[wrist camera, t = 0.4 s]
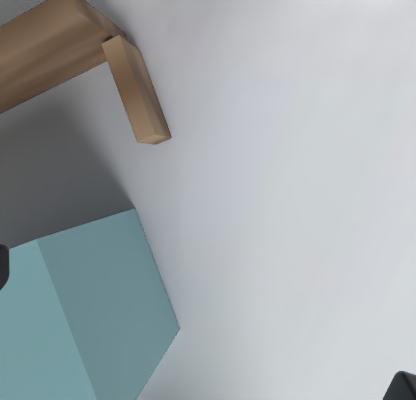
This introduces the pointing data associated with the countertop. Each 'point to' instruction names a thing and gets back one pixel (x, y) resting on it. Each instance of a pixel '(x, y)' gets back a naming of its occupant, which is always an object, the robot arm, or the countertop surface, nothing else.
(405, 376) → the robot arm
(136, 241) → the crate
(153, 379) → the countertop surface
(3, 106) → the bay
